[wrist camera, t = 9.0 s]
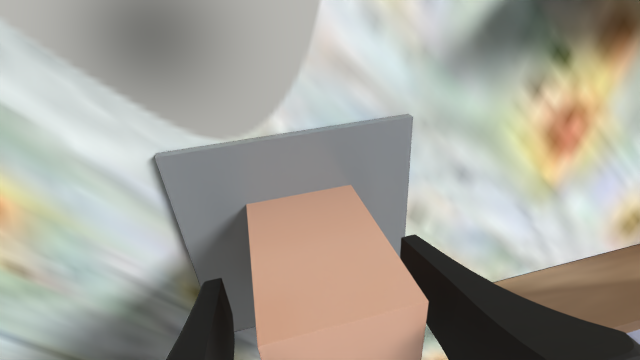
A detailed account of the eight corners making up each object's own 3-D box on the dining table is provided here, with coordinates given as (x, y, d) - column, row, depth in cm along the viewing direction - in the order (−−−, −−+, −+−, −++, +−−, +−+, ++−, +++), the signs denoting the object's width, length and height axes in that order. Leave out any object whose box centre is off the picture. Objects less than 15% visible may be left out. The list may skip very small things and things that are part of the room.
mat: (398, 284, 19) (401, 289, 18) (218, 329, 17) (218, 335, 17) (408, 114, 14) (413, 116, 13) (156, 153, 12) (154, 157, 12)
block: (353, 262, 16) (416, 395, 11) (263, 283, 16) (281, 437, 10) (350, 184, 14) (428, 301, 9) (246, 204, 13) (257, 346, 8)
